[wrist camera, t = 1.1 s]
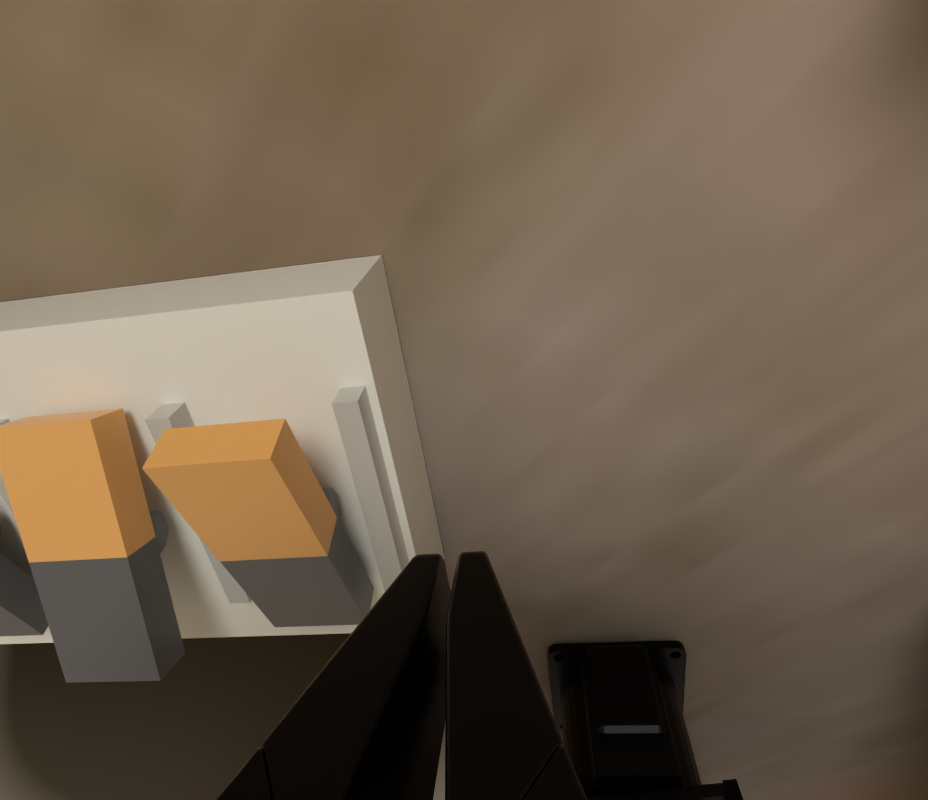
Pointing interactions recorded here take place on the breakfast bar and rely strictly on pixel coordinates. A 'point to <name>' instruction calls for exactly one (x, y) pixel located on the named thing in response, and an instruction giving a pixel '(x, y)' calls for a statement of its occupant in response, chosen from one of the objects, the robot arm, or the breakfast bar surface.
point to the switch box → (237, 406)
